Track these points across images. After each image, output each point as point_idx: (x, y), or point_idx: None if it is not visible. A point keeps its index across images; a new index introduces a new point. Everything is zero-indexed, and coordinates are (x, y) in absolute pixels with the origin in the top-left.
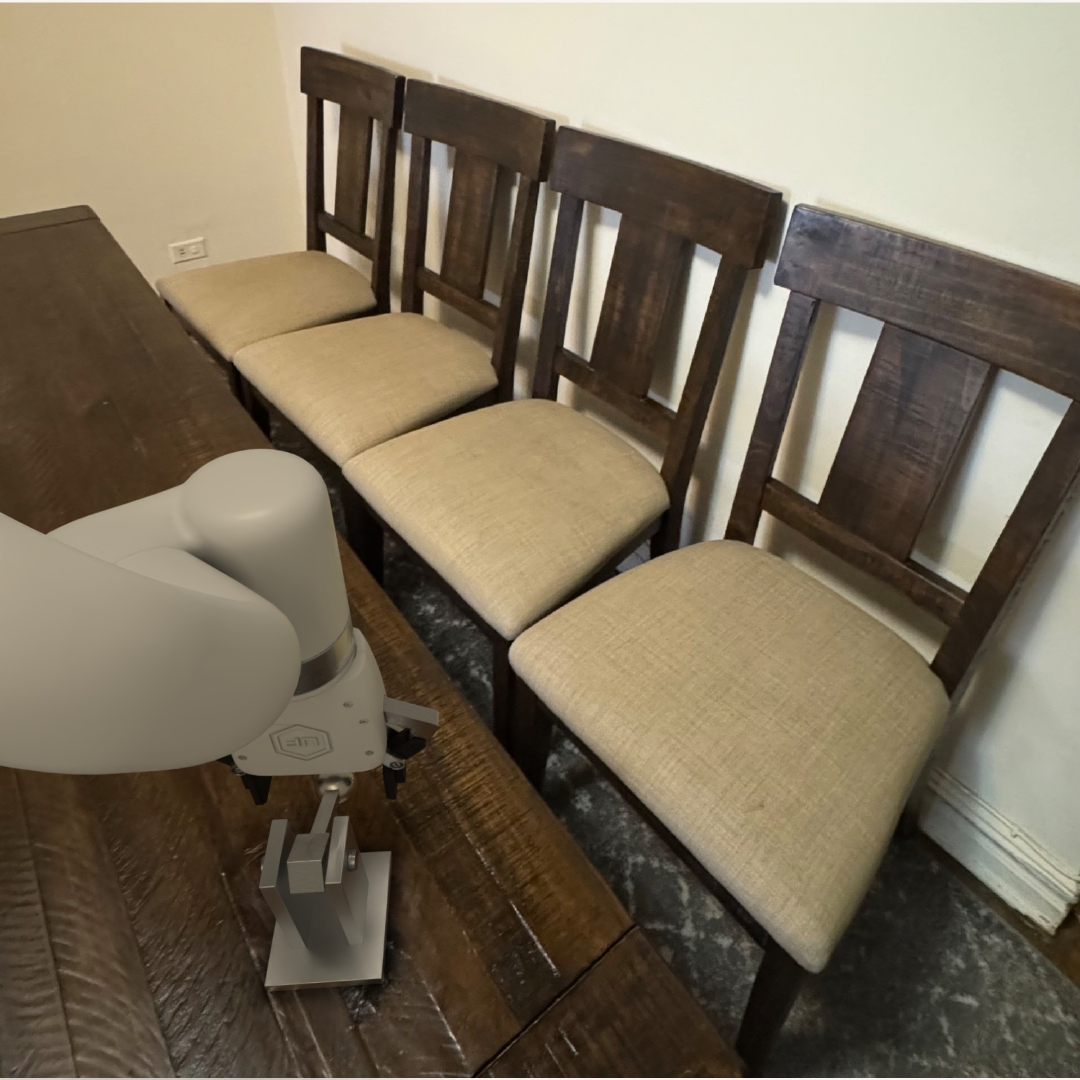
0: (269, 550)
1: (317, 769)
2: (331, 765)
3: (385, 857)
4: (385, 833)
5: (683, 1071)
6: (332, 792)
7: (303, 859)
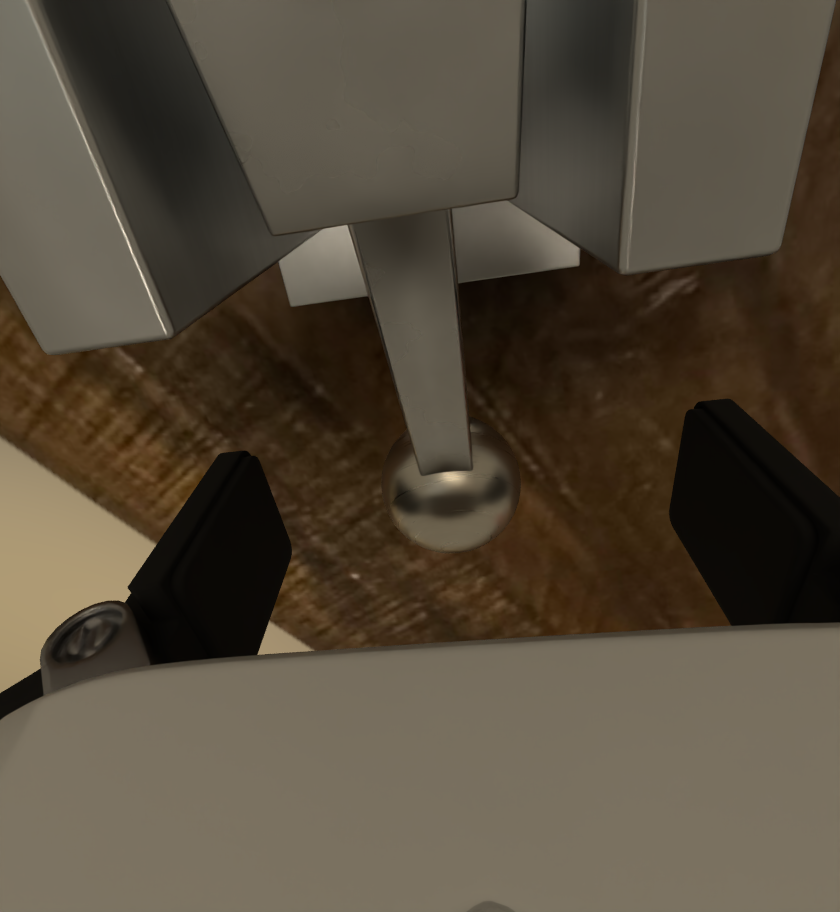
0: None
1: (413, 718)
2: (275, 783)
3: (299, 287)
4: (338, 357)
5: None
6: (439, 465)
7: None
